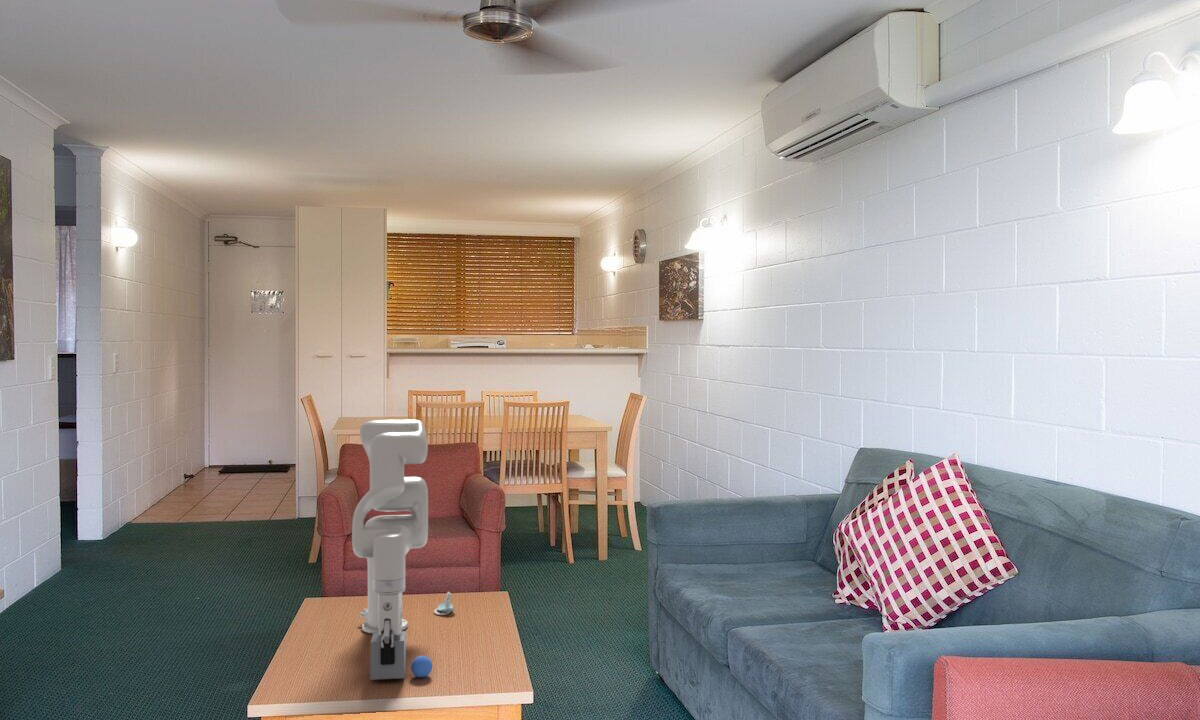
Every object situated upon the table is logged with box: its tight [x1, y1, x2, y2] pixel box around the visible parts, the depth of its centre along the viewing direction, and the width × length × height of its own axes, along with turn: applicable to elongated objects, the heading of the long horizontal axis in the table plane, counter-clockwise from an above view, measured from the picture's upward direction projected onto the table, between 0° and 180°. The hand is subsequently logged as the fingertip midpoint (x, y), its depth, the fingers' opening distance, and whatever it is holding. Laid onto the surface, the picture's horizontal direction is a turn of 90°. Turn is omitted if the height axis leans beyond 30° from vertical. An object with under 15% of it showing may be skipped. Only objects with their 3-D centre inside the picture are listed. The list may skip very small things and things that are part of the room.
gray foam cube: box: [369, 630, 407, 680], centre depth 220 cm, size 8×8×9 cm
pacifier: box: [433, 591, 456, 616], centre depth 275 cm, size 7×6×6 cm
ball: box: [410, 655, 433, 679], centre depth 221 cm, size 5×5×5 cm
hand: (389, 657), depth 220 cm, fingers closed on gray foam cube, 7 cm apart
